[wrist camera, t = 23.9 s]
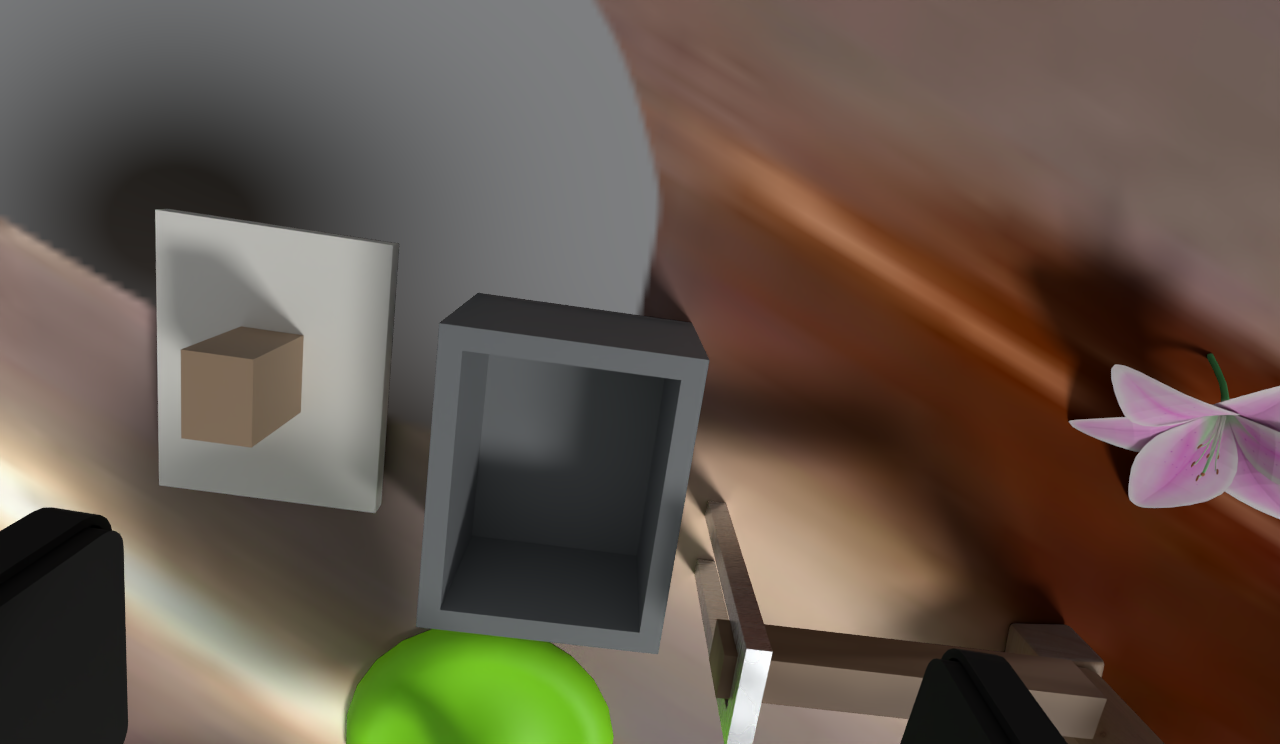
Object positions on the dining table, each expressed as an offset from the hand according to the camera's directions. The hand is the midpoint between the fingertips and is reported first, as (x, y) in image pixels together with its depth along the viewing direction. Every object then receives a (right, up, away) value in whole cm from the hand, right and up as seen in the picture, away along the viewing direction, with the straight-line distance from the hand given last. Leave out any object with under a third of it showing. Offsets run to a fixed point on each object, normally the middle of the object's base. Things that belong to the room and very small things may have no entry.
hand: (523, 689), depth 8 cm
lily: (+29, +2, +31) cm, 43 cm away
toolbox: (-1, 0, +31) cm, 31 cm away
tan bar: (+12, -9, +24) cm, 28 cm away
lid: (-17, +4, +30) cm, 34 cm away
